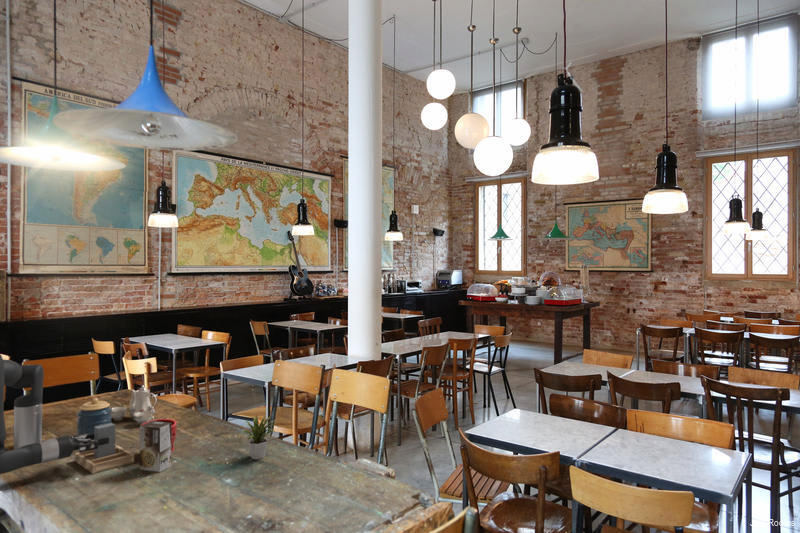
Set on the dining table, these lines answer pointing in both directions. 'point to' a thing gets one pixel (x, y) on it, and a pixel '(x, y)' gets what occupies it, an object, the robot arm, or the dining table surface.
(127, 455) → the tray
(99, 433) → the gray rectangular block
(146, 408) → the chinaware
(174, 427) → the plant pot
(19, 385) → the robot arm
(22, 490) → the dining table surface
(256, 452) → the house plant
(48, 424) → the dining table surface
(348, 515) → the dining table surface
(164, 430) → the coffee box
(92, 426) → the canister
